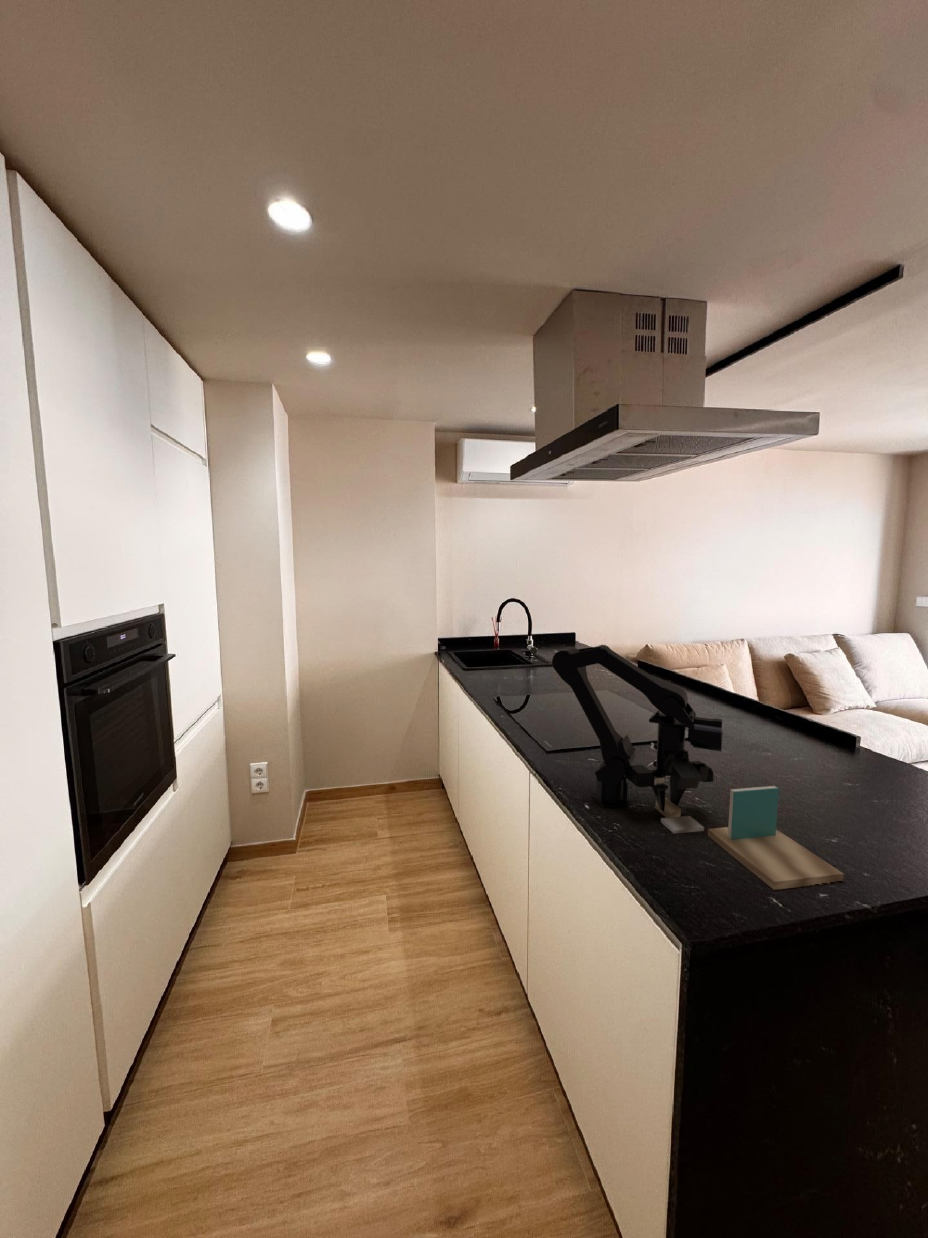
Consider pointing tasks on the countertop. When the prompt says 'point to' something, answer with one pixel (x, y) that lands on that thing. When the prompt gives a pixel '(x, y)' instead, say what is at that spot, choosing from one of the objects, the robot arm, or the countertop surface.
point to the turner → (677, 819)
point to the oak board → (777, 860)
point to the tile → (753, 812)
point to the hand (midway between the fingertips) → (667, 809)
